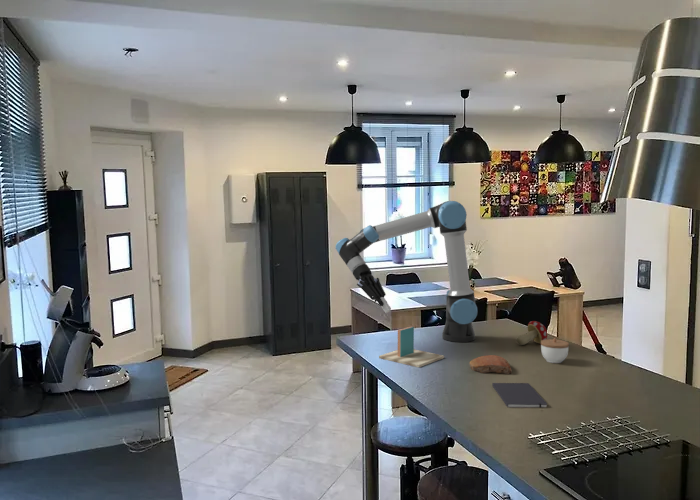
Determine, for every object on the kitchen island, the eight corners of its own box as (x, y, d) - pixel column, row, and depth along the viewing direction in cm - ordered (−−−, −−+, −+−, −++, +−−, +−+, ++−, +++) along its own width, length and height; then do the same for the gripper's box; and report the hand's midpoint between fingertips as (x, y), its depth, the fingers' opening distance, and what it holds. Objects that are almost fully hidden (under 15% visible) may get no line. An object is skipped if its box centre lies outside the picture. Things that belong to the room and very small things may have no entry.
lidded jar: (564, 357, 242) (565, 335, 242) (571, 365, 232) (572, 341, 231) (537, 357, 243) (538, 335, 243) (543, 364, 233) (544, 341, 232)
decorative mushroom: (514, 327, 260) (541, 313, 264) (506, 335, 270) (533, 322, 274) (529, 349, 256) (556, 335, 260) (520, 356, 266) (546, 342, 270)
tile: (397, 356, 242) (397, 330, 241) (410, 351, 248) (410, 326, 247) (400, 356, 241) (400, 330, 240) (413, 352, 247) (413, 326, 246)
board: (378, 358, 243) (378, 355, 243) (405, 349, 256) (405, 347, 256) (418, 367, 229) (418, 364, 229) (444, 358, 243) (444, 355, 243)
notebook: (492, 387, 207) (507, 408, 186) (492, 382, 207) (507, 404, 186) (528, 387, 207) (547, 409, 186) (528, 382, 207) (548, 404, 186)
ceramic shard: (466, 350, 236) (504, 355, 235) (464, 366, 235) (501, 372, 235) (474, 355, 221) (513, 361, 221) (472, 372, 221) (511, 378, 220)
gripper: (364, 272, 265) (393, 314, 256) (344, 275, 256) (373, 318, 246) (373, 261, 261) (403, 303, 252) (353, 264, 252) (383, 307, 242)
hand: (388, 311), depth 249 cm, fingers closed
